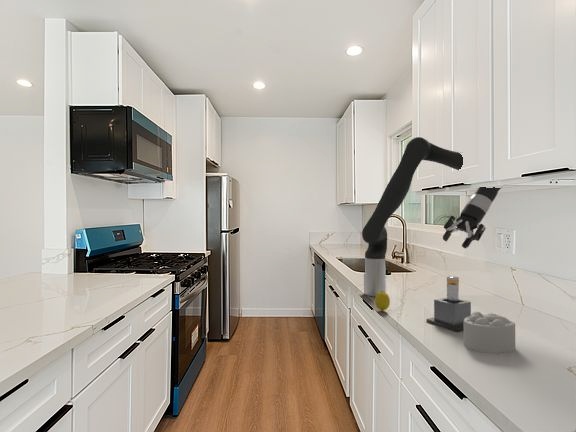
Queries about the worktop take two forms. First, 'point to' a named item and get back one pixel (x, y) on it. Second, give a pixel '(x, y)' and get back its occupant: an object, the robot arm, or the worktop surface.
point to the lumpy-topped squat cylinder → (489, 333)
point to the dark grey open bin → (450, 314)
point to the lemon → (382, 300)
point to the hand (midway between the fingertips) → (453, 243)
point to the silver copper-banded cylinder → (452, 289)
